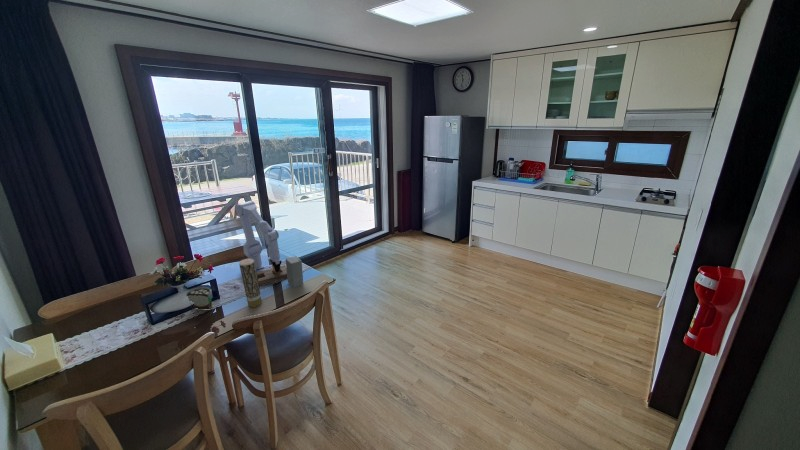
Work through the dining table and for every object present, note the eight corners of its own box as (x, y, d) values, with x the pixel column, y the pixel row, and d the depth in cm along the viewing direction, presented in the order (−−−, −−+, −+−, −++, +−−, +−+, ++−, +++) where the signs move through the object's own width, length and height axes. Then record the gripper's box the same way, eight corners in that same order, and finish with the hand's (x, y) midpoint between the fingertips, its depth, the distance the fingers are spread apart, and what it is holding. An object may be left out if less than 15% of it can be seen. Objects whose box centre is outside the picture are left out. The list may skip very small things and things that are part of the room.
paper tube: (256, 308, 158) (248, 265, 150) (245, 307, 160) (235, 264, 151) (264, 301, 165) (256, 259, 156) (253, 299, 166) (245, 258, 157)
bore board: (248, 279, 186) (247, 274, 185) (285, 269, 197) (284, 265, 196) (251, 288, 177) (250, 283, 176) (290, 277, 188) (289, 272, 187)
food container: (220, 303, 163) (216, 287, 159) (212, 310, 157) (208, 294, 153) (198, 302, 164) (194, 286, 160) (190, 309, 158) (185, 292, 154)
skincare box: (287, 282, 182) (283, 258, 177) (298, 278, 187) (295, 254, 181) (293, 288, 176) (289, 263, 171) (305, 283, 181) (301, 259, 175)
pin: (273, 272, 190) (270, 261, 186) (279, 270, 191) (277, 259, 188) (274, 275, 186) (271, 264, 183) (281, 273, 188) (278, 262, 185)
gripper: (264, 247, 187) (267, 267, 192) (269, 256, 176) (272, 276, 180) (276, 244, 191) (279, 264, 195) (281, 253, 179) (285, 273, 184)
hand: (276, 270), depth 188 cm, fingers closed on pin, 4 cm apart
